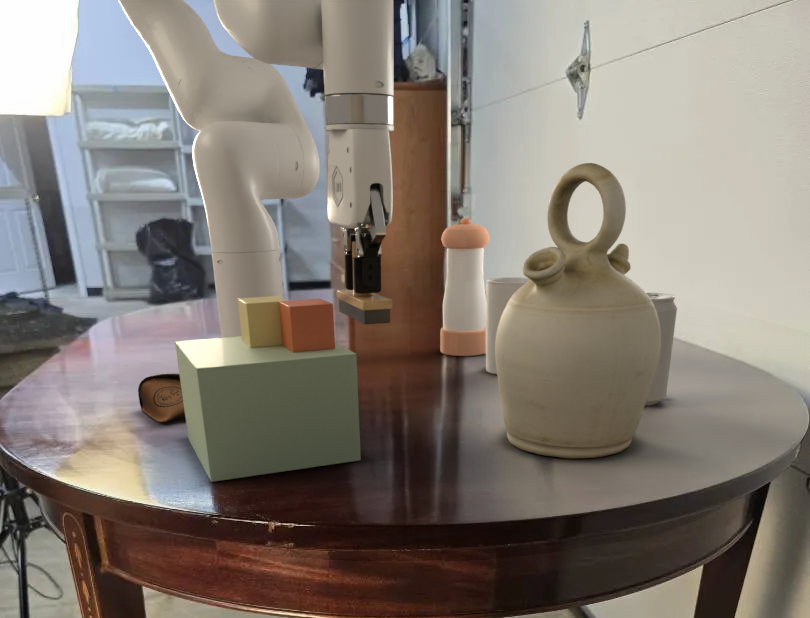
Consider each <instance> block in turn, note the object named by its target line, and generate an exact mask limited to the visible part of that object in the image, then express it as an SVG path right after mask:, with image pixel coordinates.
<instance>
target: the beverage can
mask: <svg viewBox="0 0 810 618" xmlns="http://www.w3.org/2000/svg"><path fill="white" fill-rule="evenodd" d="M645 293H646V294H647V295H648V296H649V297H650V299H651V300H652V302H653V304H654V307H655V310H656V312H657V315H658V318H659V323H660V330H661V349H660V357H659V362H658V365H657V369H656V372H655V376H654V379H653V382H652V385H651V389H650V392H649V395H648V397H647V400H646V403H645V406H644V407H646V406H653V405H656V404H658V403H659V402H660V401H661V400H664V399H665V398H666V397H667V393H668V384H669V376H670V369H671V359H672V352H673V346H674V345H673V344H674V337H675V327H676V321H677V320H676V319H677V312H678V307H677V305H676V303H675V299H676V296H675V294H670V293H662V292H645Z"/></svg>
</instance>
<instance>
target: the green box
mask: <svg viewBox="0 0 810 618" xmlns="http://www.w3.org/2000/svg"><path fill="white" fill-rule="evenodd" d="M174 343H175V344H174V345H175V353H176V360H177V366H178V374H179V375H180V382H181V389H182V396H183V403H184V411H185V418H184V419H185V425H186V431H187V432H186V433H187V438H188V441H189V443H190V445H191V447H192V448H193V451H194V452H195V454H196V456H197V458H198V460H199V462H200V464H201V465H202V467H203V470H204V471H205V473H206V475H207V477H208V479H209V480H210V482H211V483H214V482H219V481H221V482H222V481H227V480H235V479H241V478H248V477H255V476H262V475H269V474H276V473H283V472H291V471H296V470H297V471H299V470H304V469H311V468H318V467H323V466H331V465H337V464H339V465H340V464H346V463H351V462H359V461H360V462H361V460H362V458H361V454H362V453H361V436H360V433H361V431H360V411H359V409H360V408H359V388H358V387H359V386H358V364H357V363H358V362H357V353H355V352H354V351H352V350H350V349H348V348H346V347H345V346H343V345H341V344H339V343H337V342H335V349H326V350H315V351H304V352H292V351H290V350H289V349H287V348H286V347H285V346H283V345H278V346H267V347H255V348H250V347H249V346H248V345H247V344H245V343H244V342H243V341H242V336H235V337H223V338H221V337H211V338H199V339H189V340H176V341H174Z"/></svg>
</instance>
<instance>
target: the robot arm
mask: <svg viewBox="0 0 810 618" xmlns="http://www.w3.org/2000/svg"><path fill="white" fill-rule="evenodd" d="M118 3H119V4H120V6H121V9H122V10H123V12H124V14H125V15H126V17H127V19H128V20H129V22H130V24H131V25H132V27H133V28H134V30H135V31H136V33H137V34H138V36H140V38H141V39H142V41H143V42H144V44H145V46H146V47H147V49H148V50H149V53H150V54H151V56H152V58H153V60H154V62H155V65H156V67H157V69H158V71H159V73H160V75H161V77H162V80H163V82H164V84H165V86H166V88H167V90H168V92H169V94H170V97H171V98H172V101H173V103H174V104H175V107H176V109H177V111H178V112H179V114H180V116H181V117H182V119H183V121H184V122H185V123H186V124H187V125H188V126H189V127H190V128H192V129H194V130H196V131H199V132H198V133H197V134H196V136H195V138H194V141H193V144H192V153H191V154H192V163H193V169H194V172H195V176H196V180H197V182H198V186H199V190H200V193H201V198H202V200H203V206H204V210H205V216H206V222H207V228H208V235H209V245H210V251H211V260H212V268H213V278H214V288H215V295H216V296H215V297H216V304H217V313H218V321H219V329H220V330H219V331H220V338H223V337H235V336H242V335H241V325H240V316H239V306H238V299H239V298H253V297H269V296H280V297H282V298H284V284H283V273H282V272H283V271H282V259H281V247H280V238H279V232H278V230H277V226H276V224H275V222H274V219H273V218H272V216H271V215H270V213H269V212H268V210H267V209H266V207H265V205H264V203H263V202H262V201H264V200H285V199H286V200H291V199H298V198H302V197H305V196H307V195H309V194H310V193H311V192H313V190H314V189H315V188H316V186H317V184H318V181H319V179H320V172H321V163H320V161H321V160H320V156H319V151H318V147H317V145H316V142H315V139H314V137H313V135H312V133H311V130H310V128H309V125H308V124H307V122H306V120H305V117H304V115H303V114H302V112H301V110H300V108H299V106H298V104H297V101H296V99H295V98H294V96H293V94H292V91H291V89H290V87H289V85H288V84H287V82H286V80H285V78H284V76H283V75H282V74H281V72H280V71H279V70H278V69H277V68H276V67H275V66H274V65H277V66H289V67H298V68H299V67H300V68H306V69H312V70H313V69H314V70H323V85H324V87H323V88H324V90H323V91H324V92H323V93H324V94H323V95H324V115H325V131H326V132H329V140H328V153H327V154H328V155H327V219H328V221H329V223H330V224H332V225H333V226H334V227H339V228H340V230H341V232H342V236H343V252H344V277H345V278H344V280H345V282H344V283H345V290H353V261H354V291H355V292H356V293H358V294H363V293H375V294H379V293H380V292H381V291H382V255H383V249H382V248H383V244H382V243H383V241H384V239H385V238H386V236H387V227H388V226H390V224H391V223H392V220H393V208H394V207H393V206H394V205H393V204H394V200H393V199H394V198H393V196H394V192H393V191H394V190H393V187H394V186H393V168H392V165H393V164H392V153H391V152H392V151H391V139H390V133H391V132H394V131H395V108H394V107H395V105H394V104H395V101H394V99H395V97H394V96H395V89H394V88H395V81H394V79H395V75H394V73H395V72H394V71H395V69H394V67H395V63H394V62H395V61H394V52H395V51H394V50H395V49H394V48H395V47H394V46H395V45H394V44H395V43H394V37H395V36H394V33H395V32H394V31H395V30H394V0H213V5H214V7H215V8H214V9H215V12H216V16H217V18H218V21H219V23H220V24H221V26H222V27H223V29H224V30H225V32H226V33H227V34H228V35H229V36H230V37H231V38H232V40H234V41H235V43H236V44H237V45H238V46H239V47H240V48H241V49H242V50H243V51H244V52H245V53H247V54H248V55H249V56H250V57H249V56H239V55H232V54H228V53H226V52H223V51H222V50H220V48H219V47H218V46H217V44H216V42H215V41H214V39H213V37H212V34H211V32H210V30H209V28H208V26H207V25H206V23H205V21H204V20H203V19H202V17H201V16H200V15H199V13H197V11H196V10H194V8H193V7H191V5H189V3H187V2H186V1H185V0H118ZM369 226H370V227H369ZM353 241H356V255H357V257H353V259H352V242H353ZM284 299H285V298H284Z"/></svg>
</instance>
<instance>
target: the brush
mask: <svg viewBox="0 0 810 618" xmlns="http://www.w3.org/2000/svg"><path fill="white" fill-rule="evenodd" d="M353 257H357V255H356V241H353V242H352V259H353ZM336 299H337V300H338V312H340V313H341V314H343V315H346V316H347V317H349V318H351V319H353V320H356V321H357V322H359V323H361V324H363V325H378V324H390V323H391V310H392V309H393V299H390V298H388V297H385V296H383V295H380V294H379V293H363V294H358V293H356V292H355V291H354V261H353V290H348V289H336Z"/></svg>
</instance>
